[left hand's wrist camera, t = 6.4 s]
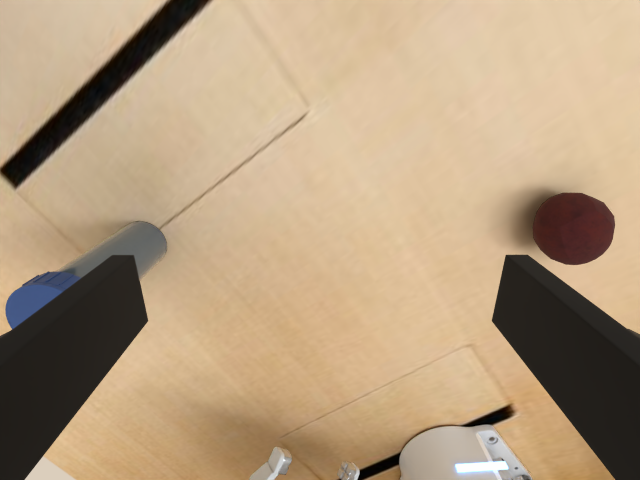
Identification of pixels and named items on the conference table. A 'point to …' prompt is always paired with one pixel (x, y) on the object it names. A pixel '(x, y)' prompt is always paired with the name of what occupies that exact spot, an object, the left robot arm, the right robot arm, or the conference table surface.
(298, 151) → the conference table surface
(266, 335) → the conference table surface
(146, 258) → the jar
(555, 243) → the dark red plum
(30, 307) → the lid
